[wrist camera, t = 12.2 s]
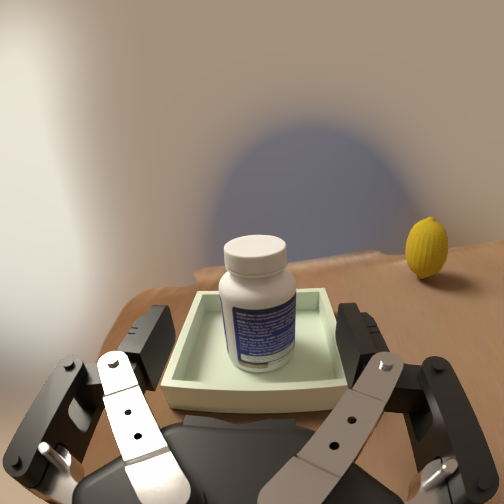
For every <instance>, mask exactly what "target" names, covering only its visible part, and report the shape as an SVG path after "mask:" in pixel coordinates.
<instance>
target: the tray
mask: <svg viewBox="0 0 504 504" xmlns="http://www.w3.org/2000/svg"><path fill="white" fill-rule="evenodd" d="M336 323H337V322H336V319H335V316H334V313H333V310H332V308H331V305H330V302H329V299H328V296H327V293H326V291H325V288H312V289H296V321H295V347H294V353H293V356H292V357H291V359H290V360H289V361H288V362H287V363H286V364H285V365H283V366H282V367H280V368H278V369H276V370H272V371H268V372H251V371H247V370H244V369H241V368H239V367H238V366H236V365H235V364H234V363H233V362H232V361H231V360H230V358H229V356H228V353H227V347H226V340H225V332H224V325H223V317H222V311H221V304H220V297H219V291H198V292H197V294H196V296H195V299H194V301H193V304H192V306H191V309H190V311H189V313H188V316H187V318H186V321H185V323H184V326H183V328H182V331H181V333H180V336H179V338H178V341H177V343H176V346H175V349H174V351H173V354H172V356H171V359H170V361H169V364H168V367H167V369H166V372H165V374H164V377H163V380H162V382H161V385H160V386H161V388H162V391H163V393H164V395H165V398H166V400H167V402H168V405H169V407H170V408H173V409H182V410H192V411H204V412H220V413H292V412H308V411H321V410H331V409H334V408H335V406H336V405H337V403H338V402H339V401H340V399H341V398H342V396H343V395H344V393H345V392H346V391H347V389H348V385H347V381H346V378H345V374H344V370H343V366H342V362H341V359H340V355H339V351H338V348H337V344H336V338H335V330H336Z"/></svg>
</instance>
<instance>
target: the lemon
mask: <svg viewBox="0 0 504 504" xmlns="http://www.w3.org/2000/svg"><path fill="white" fill-rule="evenodd" d="M447 254H448V238H447V233H446V231H445V229H444V228H443V226H442V225H441V224H440V223H439V222H437V221H436V220H435V219H434V217H429V218H427V219H424V220H421V221H419V222H418V223H416V224H415V225H414V227H413V228H412V229H411V231H410V233H409V236H408V239H407V243H406V260H407V263H408V266H409V267H410V269H411V270H412V271H413V272H414V273H415V274H417V275H418V277H419V278H420V279H424V278H426V277H429V276H433V275H435V274H436V273H438V272H439V271H440V270H441V268H442V267H443V265H444V263H445V261H446V258H447Z"/></svg>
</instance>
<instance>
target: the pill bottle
mask: <svg viewBox="0 0 504 504" xmlns="http://www.w3.org/2000/svg"><path fill="white" fill-rule="evenodd" d="M286 254H287V253H286V243H285V242H284V241H283V240H282V239H280V238H278V237H274V236H269V235H250V236H243V237H239V238H236V239H233V240H231V241H229V242H228V243H227V244H226V245H225V247H224V259H225V265H226V269H227V271H228V272H227V273H225V274H224V275H223V277H222V278H221V280H220V283H219V297H220V304H221V311H222V317H223V325H224V332H225V340H226V347H227V353H228V356H229V358H230V360H231V361H232V362H233V363H234V364H235V365H236V366H238V367H239V368H241V369H244V370H247V371H251V372H268V371H272V370H276V369H278V368H280V367H282V366H283V365H285V364H286V363H287V362H288V361H289V360H290V359H291V357H292V356H293V353H294V347H295V321H296V281H295V278H294V276H293V275H292V274H291V273H290V272H289V271H288V270H287V269H286V268H285V267H286V265H287V262H286V260H287V255H286Z"/></svg>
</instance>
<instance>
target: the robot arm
mask: <svg viewBox="0 0 504 504" xmlns="http://www.w3.org/2000/svg"><path fill="white" fill-rule="evenodd" d="M175 337H176V335H175V329H174V325H173V321H172V316H171V312H170V309H169V307H168V306H164V305H153V306H152V307H151V308H150V310H149V312H148V313H147V315H142V316H141V317H140V318H138V319H137V320H136V321H135V322H134V324H133V325H132V327H131V328H130V330H129V332H128V334H127V335H126V336H125V338H124V339H123V341H122V343H121V344H120V346H119V347H118V349H117V351H113V352H109V353H107V354H105V355H103V356H102V357H101V358H100V360H99V362H98V363H90V364H84V363H83V361H82V359H81V358H80V357H79V356H77V355H70V356H67V357H65V358H63V359H61V360H60V362H59V363H58V364H57V365H56V367H55V368H54V370H53V371H52V373H51V375H50V376H49V378H48V379H47V381H46V382H45V384H44V385H43V387H42V389H41V390H40V392H39V393H38V395H37V397H36V398H35V400H34V402H33V403H32V405H31V407H30V409H29V410H28V412H27V413H26V415H25V417H24V419H23V420H22V422H21V424H20V426H19V427H18V429H17V431H16V433H15V435H14V437H13V439H12V441H11V443H10V444H9V446H8V448H7V450H6V452H5V454H4V457H3V467H4V469H5V471H6V472H7V473H8V474H9V475H10V476H11V477H13V478H14V479H15V480H16V481H18V482H19V483H20V484H21V485H22V486H23V487H25V488H26V489H27V490H28V491H30V492H31V493H33V494H34V495H36V496H37V497H39V498H41V499H43V500H44V501H46V502H48V503H49V504H484V503H485V502H487V501H488V500H490V499H491V498H492V497H493V496H494V495H495V493H496V492H497V489H498V486H499V476H498V473H497V470H496V467H495V464H494V461H493V458H492V455H491V453H490V450H489V447H488V445H487V442H486V439H485V437H484V434H483V432H482V429H481V427H480V425H479V422H478V420H477V418H476V415H475V413H474V411H473V409H472V406H471V404H470V402H469V400H468V398H467V396H466V394H465V392H464V390H463V388H462V386H461V384H460V382H459V380H458V378H457V376H456V374H455V372H454V370H453V368H452V366H451V364H450V363H449V362H448V361H447V360H445V359H444V358H441V357H437V356H432V357H428V358H426V359H425V360H424V361H423V363H422V366H421V365H409V364H404V363H403V361H402V360H401V358H400V357H399V356H397V355H396V354H394V353H391V352H390V351H389V349H388V347H387V345H386V343H385V341H384V339H383V336H382V334H381V333H380V330H379V328H378V327H377V324H376V322H375V320H374V318H373V317H371V316H370V315H369V314H368V313H367V312H363V313H360V311H359V309H358V307H357V304H356V303H340V304H339V307H338V315H337V323H336V330H335V338H336V344H337V348H338V351H339V355H340V359H341V362H342V366H343V370H344V374H345V378H346V381H347V385H348V389H347V391H346V392H345V393H344V395H343V396H342V398H341V399H340V401H339V402H338V403H337V405H336V406H335V408H334V409H333V410H332V412H331V413H330V414H329V416H328V417H327V418H326V420H325V421H324V422H323V424H322V425H321V426H320V427H319V429H318V430H317V431H316V432H315V431H313V430H310V429H307V428H304V427H300V426H295V418H291V419H265V420H260V421H255V422H250V423H244V424H234V423H230V422H227V421H223V420H219V419H216V418H212V417H202V416H192V415H185V419H184V422H180V423H175V424H171V425H168V426H166V427H163V428H162V429H160V427H159V425H158V423H157V421H156V419H155V417H154V415H153V413H152V411H151V409H150V407H149V405H148V402H147V400H146V398H145V396H144V394H145V391H146V390H149V391H155V390H156V387H157V385H158V382H159V380H160V377H161V375H162V372H163V370H164V368H165V365H166V363H167V360H168V358H169V355H170V353H171V351H172V348H173V346H174V343H175ZM73 398H75V400H76V401H75V403H74V405H73V406H72V408H71V410H70V412H69V413H68V408H69V405H70V403H71V401H72V400H73ZM104 408H106V410H107V413H108V416H109V419H110V423H111V426H112V429H113V432H114V434H115V437H116V440H117V443H118V446H119V448H120V451H121V454H122V455H120V456H119V457H117V458H116V459H114V460H112V461H111V462H109V463H108V464H106V465H104V466H103V467H101V468H99V469H98V470H96V471H94V472H93V473H91V474H89V475H87V476H86V477H84V468H83V466H82V461H83V459H84V456H85V453H86V451H87V448H88V446H89V443H90V441H91V438H92V436H93V433H94V431H95V428H96V426H97V423H98V421H99V419H100V416H101V414H102V411H103V409H104ZM384 412H395V413H403V415H404V419H405V423H406V426H407V430H408V434H409V437H410V441H411V445H412V449H413V453H414V458H415V462H416V466H417V471H418V474H417V475H416V476H415V477H414V478H413V480H412V481H411V483H410V485H409V495H408V499H407V501H406V502H405V503H404V502H403V501H402V499H401V498H400V497H399V496H398V495H396V494H395V493H394V492H392V491H391V490H389V489H388V488H387V487H385V486H384V485H383V484H381V483H380V482H379V481H377V480H376V479H375V478H373V477H372V476H371V475H370V474H368V473H367V472H366V471H364V470H363V469H362V468H361V467H359V466H358V465H357V464H356V463H355V462H356V460H357V459H358V457H359V456H360V454H361V452H362V451H363V449H364V447H365V445H366V444H367V442H368V440H369V439H370V437H371V435H372V433H373V432H374V430H375V428H376V426H377V424H378V423H379V421H380V419H381V417H382V415H383V413H384Z"/></svg>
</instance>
